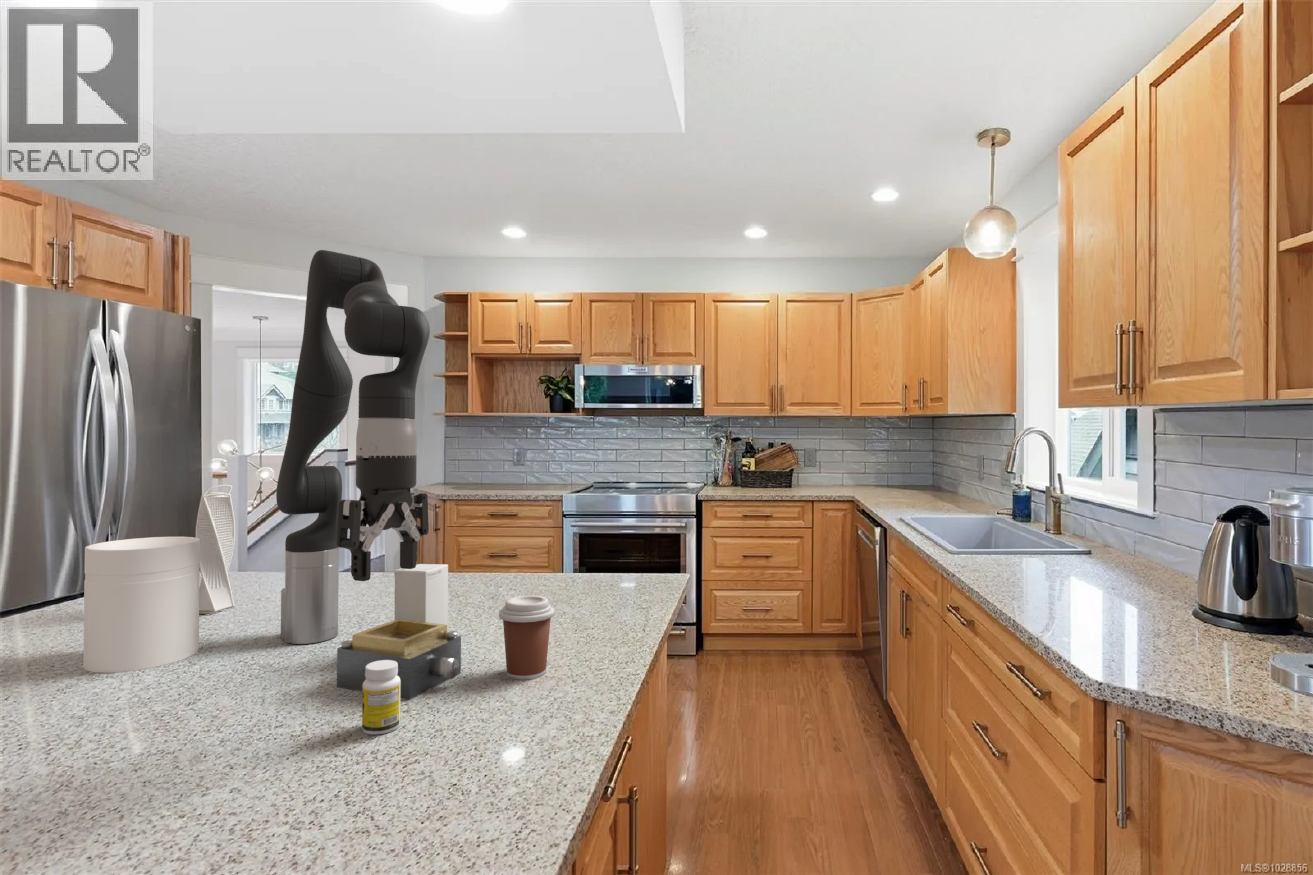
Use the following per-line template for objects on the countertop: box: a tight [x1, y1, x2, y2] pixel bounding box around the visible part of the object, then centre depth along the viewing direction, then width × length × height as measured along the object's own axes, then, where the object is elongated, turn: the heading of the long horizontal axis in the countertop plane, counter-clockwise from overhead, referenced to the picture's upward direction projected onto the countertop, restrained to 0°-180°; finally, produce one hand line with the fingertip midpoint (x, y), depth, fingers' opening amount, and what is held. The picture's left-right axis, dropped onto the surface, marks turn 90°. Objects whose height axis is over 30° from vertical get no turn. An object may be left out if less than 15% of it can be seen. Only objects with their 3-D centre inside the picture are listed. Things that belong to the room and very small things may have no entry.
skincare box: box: [393, 563, 449, 633], centre depth 118 cm, size 8×7×16 cm
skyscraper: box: [195, 484, 236, 615], centre depth 147 cm, size 8×8×28 cm
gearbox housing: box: [336, 619, 462, 701], centre depth 104 cm, size 17×12×8 cm
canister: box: [82, 536, 201, 674], centre depth 115 cm, size 16×16×20 cm
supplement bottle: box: [361, 660, 401, 736], centre depth 87 cm, size 5×5×8 cm
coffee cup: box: [498, 594, 556, 681], centre depth 108 cm, size 9×9×12 cm
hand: (385, 574), depth 87 cm, fingers open, 8 cm apart
